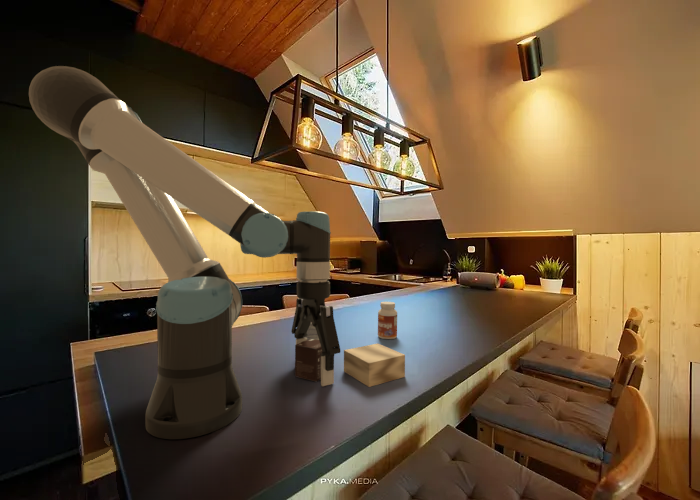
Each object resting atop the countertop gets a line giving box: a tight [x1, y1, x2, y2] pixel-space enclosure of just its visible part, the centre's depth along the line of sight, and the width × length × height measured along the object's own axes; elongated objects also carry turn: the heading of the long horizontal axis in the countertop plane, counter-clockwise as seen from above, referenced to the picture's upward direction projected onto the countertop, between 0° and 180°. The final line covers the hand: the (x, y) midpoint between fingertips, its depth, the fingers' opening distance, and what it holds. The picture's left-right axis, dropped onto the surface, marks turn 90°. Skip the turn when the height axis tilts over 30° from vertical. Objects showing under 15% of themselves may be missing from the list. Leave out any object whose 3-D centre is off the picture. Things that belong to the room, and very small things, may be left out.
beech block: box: [343, 343, 406, 388], centre depth 75 cm, size 10×10×5 cm
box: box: [294, 339, 323, 382], centre depth 75 cm, size 6×6×7 cm
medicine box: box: [303, 322, 319, 340], centre depth 92 cm, size 8×4×9 cm, turn 168°
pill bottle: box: [377, 301, 398, 340], centre depth 106 cm, size 6×6×11 cm
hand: (313, 374), depth 75 cm, fingers open, 12 cm apart
